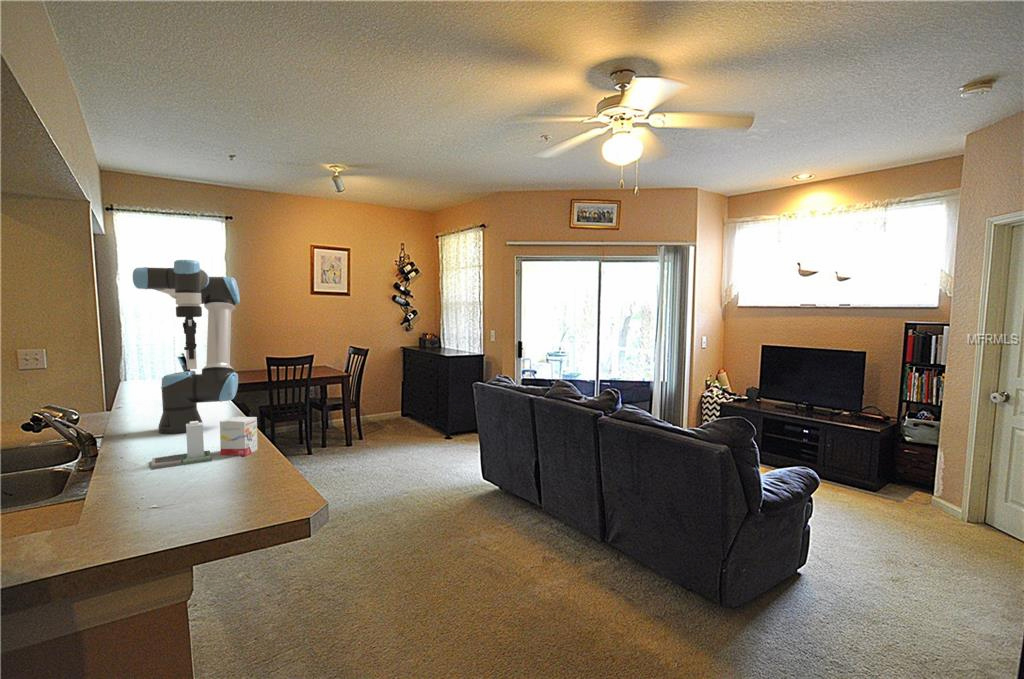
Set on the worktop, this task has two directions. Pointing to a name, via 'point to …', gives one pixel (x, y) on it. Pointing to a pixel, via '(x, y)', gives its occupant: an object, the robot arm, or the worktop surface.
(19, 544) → the worktop surface
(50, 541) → the worktop surface
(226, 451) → the ink box
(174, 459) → the panel
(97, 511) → the worktop surface
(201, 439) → the plug
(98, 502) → the worktop surface
